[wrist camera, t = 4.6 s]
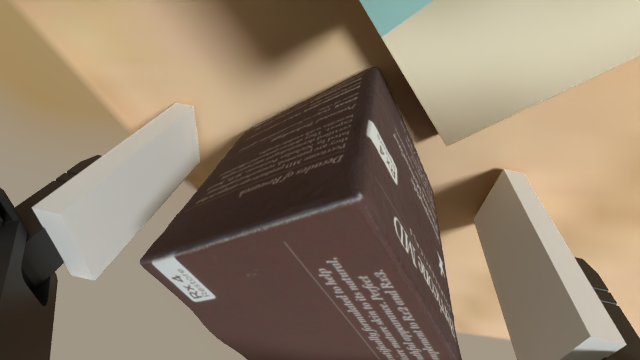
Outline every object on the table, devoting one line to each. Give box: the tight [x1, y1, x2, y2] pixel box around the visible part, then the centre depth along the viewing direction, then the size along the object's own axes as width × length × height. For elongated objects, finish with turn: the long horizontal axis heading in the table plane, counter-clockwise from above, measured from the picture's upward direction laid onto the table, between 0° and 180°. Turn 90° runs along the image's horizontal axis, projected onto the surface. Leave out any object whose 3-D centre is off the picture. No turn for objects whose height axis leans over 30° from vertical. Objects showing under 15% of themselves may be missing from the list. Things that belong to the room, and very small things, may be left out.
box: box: [140, 67, 462, 360], centre depth 10 cm, size 6×6×7 cm
